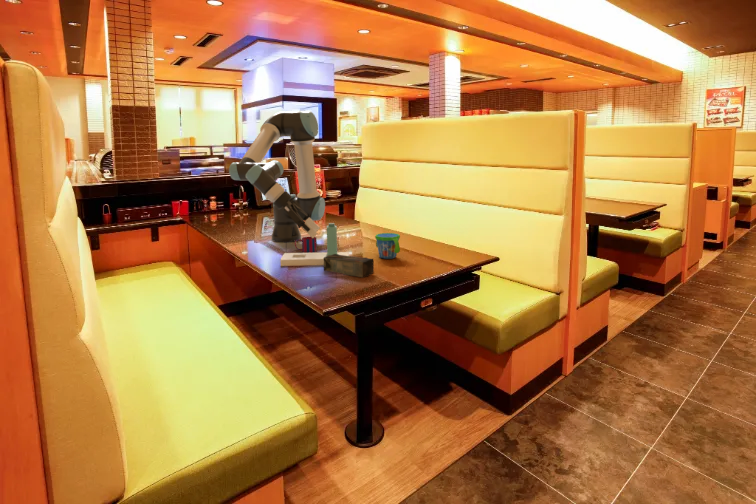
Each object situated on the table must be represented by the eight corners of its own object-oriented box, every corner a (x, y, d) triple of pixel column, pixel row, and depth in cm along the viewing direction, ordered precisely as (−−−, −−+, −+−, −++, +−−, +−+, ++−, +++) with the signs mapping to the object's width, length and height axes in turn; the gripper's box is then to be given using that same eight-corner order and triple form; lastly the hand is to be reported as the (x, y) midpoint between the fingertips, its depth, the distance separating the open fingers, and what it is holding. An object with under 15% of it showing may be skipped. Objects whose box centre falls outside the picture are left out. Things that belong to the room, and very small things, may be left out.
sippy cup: (369, 255, 216) (369, 233, 214) (390, 252, 221) (390, 231, 218) (384, 262, 202) (384, 239, 200) (406, 260, 207) (406, 236, 205)
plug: (328, 260, 205) (326, 222, 201) (337, 260, 205) (336, 222, 202) (327, 262, 201) (326, 224, 198) (337, 262, 201) (336, 224, 198)
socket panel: (284, 259, 208) (284, 253, 207) (349, 258, 210) (349, 252, 209) (280, 266, 196) (280, 259, 196) (349, 265, 198) (348, 258, 197)
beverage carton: (334, 267, 196) (334, 251, 195) (374, 274, 186) (374, 257, 185) (323, 272, 189) (322, 255, 188) (364, 279, 180) (363, 262, 178)
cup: (317, 253, 220) (316, 239, 218) (294, 254, 218) (294, 239, 217) (316, 250, 226) (316, 236, 224) (295, 251, 225) (294, 236, 223)
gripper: (277, 199, 207) (313, 233, 211) (266, 207, 183) (307, 245, 187) (289, 187, 207) (324, 221, 210) (280, 193, 182) (320, 231, 186)
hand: (316, 233), depth 199 cm, fingers open, 13 cm apart
